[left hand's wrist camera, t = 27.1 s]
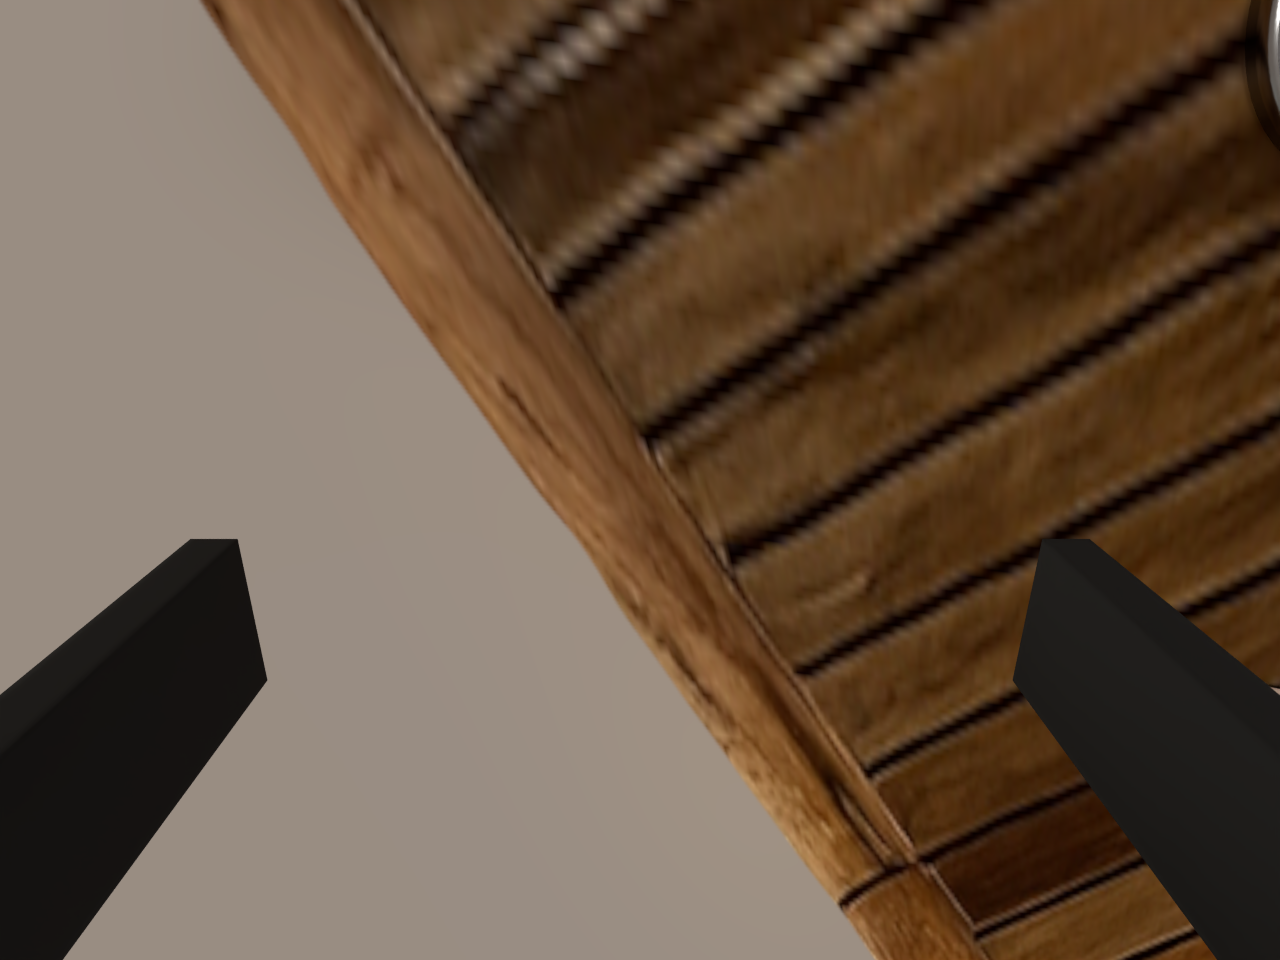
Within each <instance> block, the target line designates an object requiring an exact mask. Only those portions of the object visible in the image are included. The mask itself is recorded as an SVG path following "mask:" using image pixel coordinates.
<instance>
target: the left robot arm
mask: <svg viewBox="0 0 1280 960" xmlns="http://www.w3.org/2000/svg"><path fill="white" fill-rule="evenodd" d="M1245 60H1246V73H1247V81H1248V87H1249V91H1250V95H1251V99H1252V103H1253V105H1254V108H1255V111H1256V114H1257V116H1258V118H1259V120H1260V122H1261V124H1262V127H1263V129H1264V130H1265V132H1266V133H1267V135H1268V136H1269V138H1270V139H1271V141H1272V142H1273V144H1274V145H1275V146H1276V147H1277V148H1278V149H1279V151H1280V0H1251V4H1250V9H1249V15H1248V21H1247V28H1246V43H1245ZM266 681H267V676H266V672H265V667H264V662H263V657H262V653H261V648H260V643H259V638H258V634H257V629H256V625H255V619H254V615H253V610H252V605H251V601H250V596H249V591H248V586H247V582H246V577H245V572H244V567H243V563H242V558H241V553H240V549H239V544H238V539H190V540H189V541H188V542H186V543H185V544H184V545H183V546H182V547H180V548H179V549H178V550H177V551H175V552H174V553H173V554H172V555H171V556H169V557H168V558H167V559H166V560H164V561H163V562H162V563H161V564H160V565H158V566H157V567H156V568H155V569H153V570H152V571H151V572H150V573H149V574H147V575H146V576H145V577H144V578H142V579H141V580H140V581H139V582H138V583H136V584H135V585H134V586H133V587H131V588H130V589H129V590H128V591H127V592H125V593H124V594H123V595H122V596H120V597H119V598H118V599H117V600H116V601H114V602H113V603H112V604H111V605H109V606H108V607H107V608H106V609H105V610H103V611H102V612H101V613H100V614H98V615H97V616H96V617H95V618H94V619H92V620H91V621H90V622H89V623H88V624H86V625H85V626H84V627H83V628H81V629H80V630H79V631H78V632H76V633H75V634H74V635H73V636H72V637H70V638H69V639H68V640H67V641H65V642H64V643H63V644H62V645H61V646H59V647H58V648H57V649H56V650H54V651H53V652H52V653H51V654H50V655H48V656H47V657H46V658H45V659H43V660H42V661H41V662H40V663H39V664H37V665H36V666H35V667H34V668H32V669H31V670H30V671H29V672H28V673H26V674H25V675H24V676H23V677H21V678H20V679H19V680H18V681H17V682H15V683H14V684H13V685H12V686H10V687H9V688H8V689H7V690H6V691H4V692H3V693H2V694H1V695H0V960H63V959H64V957H65V956H66V955H67V953H68V952H69V950H70V949H71V948H72V946H73V945H74V944H75V942H76V941H77V939H78V938H79V937H80V935H81V934H82V933H83V931H84V930H85V929H86V927H87V926H88V925H89V923H90V922H91V920H92V919H93V918H94V916H95V915H96V914H97V912H98V911H99V910H100V908H101V907H102V905H103V904H104V903H105V901H106V900H107V899H108V897H109V896H110V894H111V893H112V892H113V890H114V889H115V888H116V886H117V885H118V884H119V882H120V881H121V879H122V878H123V877H124V875H125V874H126V873H127V871H128V870H129V869H130V867H131V866H132V864H133V863H134V862H135V860H136V859H137V858H138V856H139V855H140V854H141V852H142V851H143V849H144V848H145V847H146V845H147V844H148V843H149V841H150V840H151V838H152V837H153V836H154V834H155V833H156V832H157V830H158V829H159V828H160V826H161V825H162V823H163V822H164V821H165V819H166V818H167V817H168V815H169V814H170V812H171V811H172V810H173V808H174V807H175V806H176V804H177V803H178V802H179V800H180V799H181V798H182V796H183V795H184V793H185V792H186V791H187V789H188V788H189V787H190V785H191V784H192V782H193V781H194V780H195V778H196V777H197V776H198V774H199V773H200V772H201V770H202V769H203V767H204V766H205V765H206V763H207V762H208V761H209V759H210V758H211V756H212V755H213V754H214V752H215V751H216V750H217V748H218V747H219V746H220V744H221V743H222V742H223V740H224V739H225V737H226V736H227V735H228V733H229V732H230V731H231V729H232V728H233V726H234V725H235V724H236V722H237V721H238V720H239V718H240V717H241V716H242V714H243V713H244V711H245V710H246V709H247V707H248V706H249V705H250V703H251V702H252V701H253V699H254V698H255V696H256V695H257V694H258V692H259V691H260V690H261V688H262V687H263V686H264V684H265V683H266ZM1013 681H1014V683H1015V684H1016V686H1017V687H1018V688H1019V690H1020V691H1021V692H1022V694H1023V695H1024V696H1025V698H1026V699H1027V701H1028V702H1029V703H1030V705H1031V706H1032V707H1033V709H1034V710H1035V711H1036V713H1037V714H1038V716H1039V717H1040V718H1041V720H1042V721H1043V722H1044V724H1045V725H1046V726H1047V728H1048V729H1049V731H1050V732H1051V733H1052V735H1053V736H1054V737H1055V739H1056V740H1057V742H1058V743H1059V744H1060V746H1061V747H1062V748H1063V750H1064V751H1065V752H1066V754H1067V755H1068V757H1069V758H1070V759H1071V761H1072V762H1073V763H1074V765H1075V766H1076V767H1077V769H1078V770H1079V772H1080V773H1081V774H1082V776H1083V777H1084V778H1085V780H1086V781H1087V782H1088V784H1089V785H1090V787H1091V788H1092V789H1093V791H1094V792H1095V793H1096V795H1097V796H1098V798H1099V799H1100V800H1101V802H1102V803H1103V804H1104V806H1105V807H1106V808H1107V810H1108V811H1109V813H1110V814H1111V815H1112V817H1113V818H1114V819H1115V821H1116V822H1117V823H1118V825H1119V826H1120V828H1121V829H1122V830H1123V832H1124V833H1125V834H1126V836H1127V837H1128V838H1129V840H1130V841H1131V843H1132V844H1133V845H1134V847H1135V848H1136V849H1137V851H1138V852H1139V854H1140V855H1141V856H1142V858H1143V859H1144V860H1145V862H1146V863H1147V864H1148V866H1149V867H1150V869H1151V870H1152V871H1153V873H1154V874H1155V875H1156V877H1157V878H1158V879H1159V881H1160V882H1161V884H1162V885H1163V886H1164V888H1165V889H1166V890H1167V892H1168V893H1169V895H1170V896H1171V897H1172V899H1173V900H1174V901H1175V903H1176V904H1177V905H1178V907H1179V908H1180V910H1181V911H1182V912H1183V914H1184V915H1185V916H1186V918H1187V919H1188V920H1189V922H1190V923H1191V925H1192V926H1193V927H1194V929H1195V930H1196V931H1197V933H1198V934H1199V935H1200V937H1201V938H1202V940H1203V941H1204V942H1205V944H1206V945H1207V946H1208V948H1209V949H1210V951H1211V952H1212V953H1213V955H1214V956H1215V957H1216V959H1217V960H1280V695H1279V694H1278V693H1277V692H1276V691H1274V690H1273V689H1272V688H1271V687H1270V686H1268V685H1267V684H1266V683H1265V682H1263V681H1262V680H1261V679H1260V678H1259V677H1257V676H1256V675H1255V674H1254V673H1252V672H1251V671H1250V670H1249V669H1248V668H1246V667H1245V666H1244V665H1243V664H1241V663H1240V662H1239V661H1238V660H1237V659H1235V658H1234V657H1233V656H1232V655H1230V654H1229V653H1228V652H1227V651H1226V650H1224V649H1223V648H1222V647H1221V646H1219V645H1218V644H1217V643H1216V642H1215V641H1213V640H1212V639H1211V638H1210V637H1208V636H1207V635H1206V634H1205V633H1204V632H1202V631H1201V630H1200V629H1199V628H1197V627H1196V626H1195V625H1194V624H1193V623H1191V622H1190V621H1189V620H1188V619H1186V618H1185V617H1184V616H1183V615H1182V614H1180V613H1179V612H1178V611H1177V610H1175V609H1174V608H1173V607H1172V606H1171V605H1169V604H1168V603H1167V602H1166V601H1164V600H1163V599H1162V598H1161V597H1160V596H1158V595H1157V594H1156V593H1155V592H1153V591H1152V590H1151V589H1150V588H1149V587H1147V586H1146V585H1145V584H1144V583H1142V582H1141V581H1140V580H1139V579H1138V578H1136V577H1135V576H1134V575H1133V574H1131V573H1130V572H1129V571H1128V570H1127V569H1125V568H1124V567H1123V566H1122V565H1120V564H1119V563H1118V562H1117V561H1116V560H1114V559H1113V558H1112V557H1111V556H1109V555H1108V554H1107V553H1106V552H1105V551H1103V550H1102V549H1101V548H1100V547H1098V546H1097V545H1096V544H1095V543H1094V542H1092V541H1091V540H1090V539H1042V544H1041V549H1040V553H1039V558H1038V563H1037V567H1036V572H1035V577H1034V582H1033V586H1032V591H1031V596H1030V601H1029V605H1028V610H1027V615H1026V619H1025V624H1024V629H1023V634H1022V638H1021V643H1020V648H1019V653H1018V657H1017V662H1016V667H1015V671H1014V676H1013Z"/></svg>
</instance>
